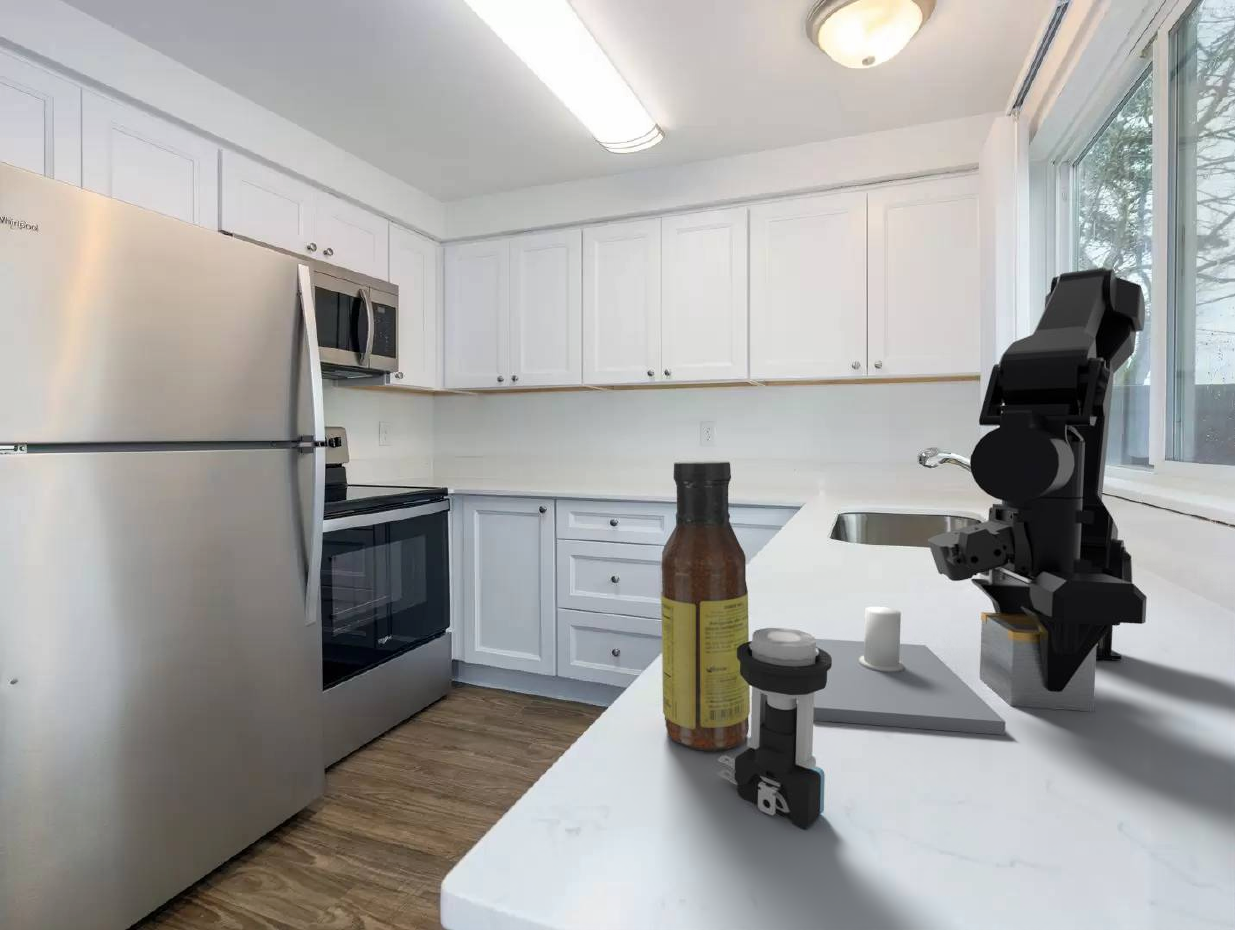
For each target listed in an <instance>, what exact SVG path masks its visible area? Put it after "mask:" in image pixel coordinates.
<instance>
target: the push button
mask: <svg viewBox="0 0 1235 930" xmlns="http://www.w3.org/2000/svg"><path fill="white" fill-rule="evenodd" d="M816 639H817V638H816V637H815V636H814V635H812V634H810V633H809V632H805V631H801V630H799V629H792V628H787V627H766V628H760V629H757V630H756V629H755V631H753V633H752V640H750V641H749V642H746V643H743V644H741V645H740V646H739V647H738V648H737V659H738V660H739V661H740V675H741V676H742V677H743V678H744V680H745V681H746V682H747V683H748V684H749V687H750V686H751V711H750V712H751V713H750V714H751V717H750V718H751V720H750V721H751V722H750V723H751V724H750V737H748V738H747V744H746V745H747V747H748V748H747V749H746V750H745V751H743V752H741V753H740V754H738V755H736V756H735V758H733V757H730V756H727V755H725V754H724V755H721V756H720V757H719V758H717V761H718V762H720V763H723V764H725V765H727V766H730V768H732V769H733V770H734V772H731V771H729V770H727V769H722V770H720V771H719V772H718V773H717V776H718V777H720V778H722V779H723V778H724V779H725V780H728V781H730V783H731V784H733V785H737V787H736V788H737V789H736V791H737V795H738V796H739V797H740V798H741V799H743V800H745V801H747V802H750V803H752V804H755V805H757V808H758V809H759V811H761V812H762V813H766V814H767V815H770V816H775V815H776V814H778V815H779V816H782V817H784V818H787V819H788V820H790V821H791V823H792V824H793V825H794V826H796V827H798V828H800V829H803V830H805V829H808V828H809V827H810V825H811V824H812V823H814V822H815V820H816V819H818V818H819V817H820V816H821V815H822V814H823V813H824V810H825V780H826V777H825V776H826V775H825V771H824V770H823V768H821V767H819V766H817V758H816V757H815V756H813V742H814V720H813V713H814V692H816V691H819V690H821V689H824V688H825V687H826V683H827V671H828V670H829V669H830V668H831V666H832V658H831V656H830V655H829V654H828V653H827V652H825V651H824V650H822V649H820V648H817V647H816ZM727 760H728V761H727Z"/></svg>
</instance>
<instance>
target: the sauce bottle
mask: <svg viewBox="0 0 1235 930" xmlns="http://www.w3.org/2000/svg"><path fill="white" fill-rule="evenodd" d="M731 479H732V474H731V463H730V461H727V460H682V461H681V460H679V461H676V462H674V463H673V480H674V482H675V485H676V513H675V523H676V525H675V527H674V529H673V531H672V532H671V534H670V536H669V537H668V539H667V541H666V543H665V545H664V546H663V550H662V552H661V568H660V569H661V579H662V580H661V584H662V586H661V587H662V588H661V589H662V590H661V592H660V600H661V601H660V605H661V607H660V609H661V613H660V614H661V646H662V647H661V650H662V652H661V654H662V655H661V657H662V658H661V660H662V661H661V664H662V714H663V715H664V721H665V722H664V723H665V727H666V731H667V733H668V736H669V737H670V738H671V739H672V740H673V742H674V743H677V744H678V743H679V744H681V745H685V746H686V747H691V748H693V749H695V750H700V751H721V750H723V751H725V750H728V749H732V748H735V747H737V746H739V745H741V744H742V743H743V742H744V741H745V740H747V736H748V734H749V728H750V727H749V725H750V723H749V721H750V720H749V715H750V714H751V713H750V712H751V705H750V704H751V699H750V697H751V696H750V689H751V688H750V685H749V684H748V683H747V682H746V681H745V680H744V678H743V677H742V676H741V675H740V661H739V660H738V659H737V648H738V647H739V646H740V645H741V644H743V643H746V642H749V640H750V639H749V635H750V634H749V627H750V626H749V594H748V593H749V592H748V591H749V590H748V586H747V580H746V578H747V577H746V574H747V573H746V567H747V566H746V564H747V563H746V561H747V560H746V559H747V557H746V554H745V552H744V550H743V548H742V545H741V544H740V542H739V540H738V538H737V536H736V533H735V531H734V529H733V526H732V525H731V522H730V518H731V515H730V513H729V485H730V481H731Z"/></svg>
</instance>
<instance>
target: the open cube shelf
mask: <svg viewBox="0 0 1235 930" xmlns="http://www.w3.org/2000/svg"><path fill="white" fill-rule="evenodd" d="M980 620H981V635H980V655H979V657H980V659H979V660H980V661H979V680H981V681H982V682H983V683H984V684H985V685H987V686H988V687H989V688H990V689H991V690H992V691H993V692H994V693H995V694H996V695H998V696H999V697H1000V698H1001V699H1002V700H1003V701H1005V702H1006V703H1007V704H1008V705H1009V706H1010V707H1012V706H1013V707H1026V708H1037V709H1039V708H1040V709H1050V710H1051V709H1054V710H1067V711H1078V712H1079V711H1081V712H1092V713H1093V712H1094V709H1095V708H1094V707H1095V706H1094V705H1095V689H1096V688H1095V686H1096V664H1097V658H1096V646H1098V643H1097V644H1096V645H1095V647H1094V648H1093V649H1092V650H1091V652H1090V653H1089V654H1088V656H1087V657H1086V658H1085V660H1084V661H1083V663H1082V664H1081V665H1080V667H1079V668H1078V670H1077V671H1076V672H1075V674H1074V675H1073V677H1072V678H1071V680H1070V681H1069V682H1068V684H1067V685H1066V687H1065V688H1064V689H1063V691H1061V692H1052V691H1048V690H1047V689H1046V688H1045V682H1044V676H1043V668H1042V657H1041V647H1040V636H1039V628H1038V625H1037V624H1036V623H1035V622H1034V621H1033V620H1032V619H1031V618H1030V617H1029V616H1028V615H1026V614H1007V613H995V612H986V611H982V612H980Z"/></svg>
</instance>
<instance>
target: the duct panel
mask: <svg viewBox="0 0 1235 930" xmlns="http://www.w3.org/2000/svg"><path fill="white" fill-rule="evenodd" d="M864 615H865V617H864V640H863V641H861V640H845V639H844V640H843V639H829V638H826V639H825V638H815V639H816V647H817V648H820V649H822V650H824V651H825V652H827V653H828V654H829V655H830V656H831V658H832V666H831V668H830V669H829V670H828V671H827V683H826V687H825V688H824V689H821V690H819V691H816V692H814V713H813V721H822V722H834V723H846V724H861V725H862V724H863V725H873V726H886V727H897V728H898V727H899V728H909V729H910V728H911V729H922V730H923V729H924V730H937V731H946V732H947V731H949V732H960V733H963V732H964V733H974V734H975V733H976V734H986V735H987V734H988V735H1000V736H1001V735H1002V736H1005V735H1006V721H1005V719H1004V718H1003V717H1001V716H1000V715H999V714H998V713H997V712H996V711H995V710H994V709H993V708H992V707H991V706H990V705H988V703H987V702H985V700H983V698H981V697H980V696H979V695H978V694H977V693H976V692H975V691H974V690H973V689H972V688H971V687H970V686H969V685H968V684H967V683H966V682H964V681H963V679H962V678H960V677H959V676H958V675H957V674H956V673H955V672H954V671H953V670H952V669H951V668H950V667H949V666H948V665H947V664H946V663H944V661H942V660H941V659H940V658H939V657H938V656H937V654H935V653H934V652H933V651H932V650H931V649H930V648H929V647H928V646H926V645H925V644H909V643H901V617H902V613H901V611H900V610H898V609H894V608H890V607H884V606H883V607H882V606H868V607H866V608H865V612H864Z"/></svg>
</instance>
